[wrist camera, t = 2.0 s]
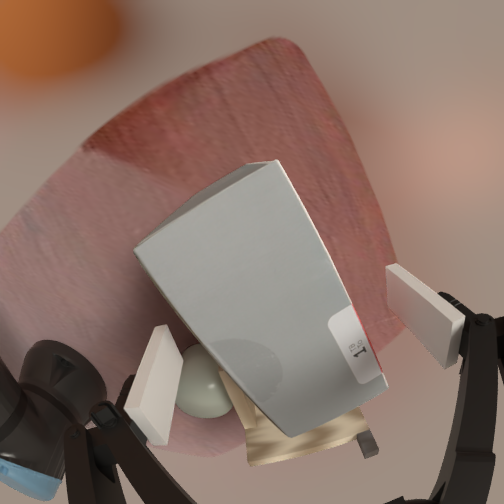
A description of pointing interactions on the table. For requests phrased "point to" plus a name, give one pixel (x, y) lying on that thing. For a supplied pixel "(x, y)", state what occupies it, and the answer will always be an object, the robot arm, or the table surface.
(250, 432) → the shelf bay
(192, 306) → the hard drive box
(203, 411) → the pale green rounded part
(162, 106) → the table surface
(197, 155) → the table surface
